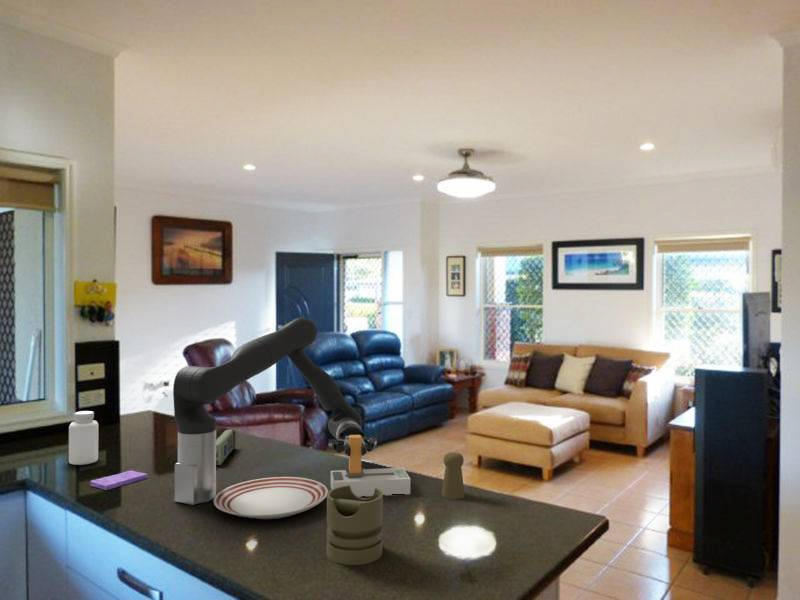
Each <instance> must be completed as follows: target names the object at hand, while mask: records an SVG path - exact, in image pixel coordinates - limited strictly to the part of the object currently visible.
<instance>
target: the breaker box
mask: <svg viewBox="0 0 800 600" xmlns="http://www.w3.org/2000/svg"><path fill="white" fill-rule="evenodd" d="M362 469H363V468H362ZM346 470H347V469H344V470H340V469H339V470H330V488H331V489H330V490H332V489H334V488H337V487H340V486H346V485H350V487H351V490H352V492H353V493H354V494H355V495H356V496H358V497H360V498H363V497H362V496H365V497H372V496H373V495H374V492H375V488H378V489H380V490H381V491H382V492H383V495H385V496H393V495H392V494H405V495H411V477H410V476H409V474H408V473H407V470H405V468H404V467H390V468H386V467H385V468H367V469H365V468H364V469H363V472H364V476H356V477H347V474H346Z"/></svg>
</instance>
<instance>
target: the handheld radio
mask: <svg viewBox="0 0 800 600" xmlns="http://www.w3.org/2000/svg"><path fill="white" fill-rule="evenodd" d="M233 450H234V430H233V429H226V430H224V431H223V432H222V433H221V435H220V436H219V437H218V438H216V465H220V466H222V464H223V463H224V461H225V460H226V459H227V457H228V456H229V455H230V453H232V451H233Z"/></svg>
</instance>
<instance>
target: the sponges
mask: <svg viewBox="0 0 800 600" xmlns="http://www.w3.org/2000/svg"><path fill="white" fill-rule="evenodd" d="M147 478H148V473H145V472H138V471H135V470H132V469H131V470H128V471H123V472H121V473H117V474H113V475H109V476H104V477H100V478H97V479H92V480H90V481H89V482H90V483H89V484H90V487H94V488H97V489H100V490H103V491H104V490H105V491H109V490H112V489H115V488H118V487H122V486H125V485H129V484H132V483H135V482H139V481H143V480H146V479H147Z"/></svg>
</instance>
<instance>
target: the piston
mask: <svg viewBox="0 0 800 600" xmlns="http://www.w3.org/2000/svg"><path fill="white" fill-rule="evenodd" d="M383 513H384V496H383V492H382V491H381V490H380V489H378V488H375V492H374V495H373V496H370V497H369V498H364V497H358V496H356V495H355V494H354V493H353V492H352V490H351V487H350V485H346V486H340V487H337V488H334V489H332V490H331V489H330V490H328V493H327V497H326V525H327V528H326V556H327V558H328V559H329V561H332V562H334V563H337V564H340V565H347V566H360V565H367V564H370V563H373V562H375V561H377V560H379V559H380V558H381V557H382V556H383V539H384V538H383V536H384V535H383V528H384V527H383V521H384V520H383V519H384V514H383Z"/></svg>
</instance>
